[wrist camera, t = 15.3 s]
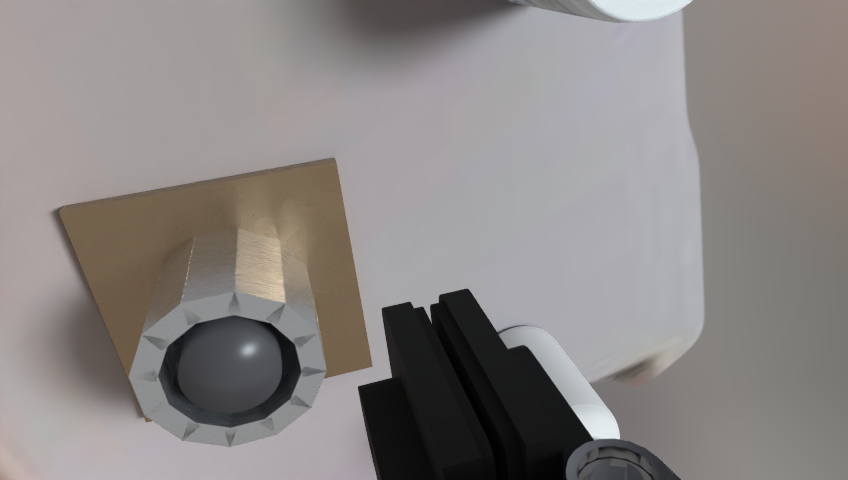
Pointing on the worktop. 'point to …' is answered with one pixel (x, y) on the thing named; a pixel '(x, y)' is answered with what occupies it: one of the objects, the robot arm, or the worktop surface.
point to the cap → (230, 363)
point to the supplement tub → (611, 8)
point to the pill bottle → (566, 379)
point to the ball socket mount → (226, 286)
